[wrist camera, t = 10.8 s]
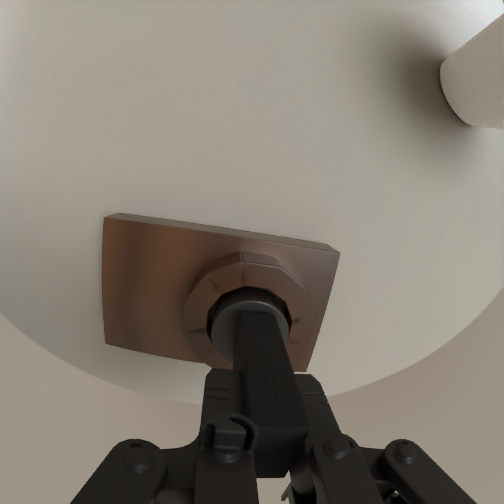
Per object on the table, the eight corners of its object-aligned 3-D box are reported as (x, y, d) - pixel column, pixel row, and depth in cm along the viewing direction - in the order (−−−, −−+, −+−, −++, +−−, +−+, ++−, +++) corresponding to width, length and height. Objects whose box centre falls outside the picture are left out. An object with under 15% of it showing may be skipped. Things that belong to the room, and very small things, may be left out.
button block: (116, 327, 17) (94, 359, 13) (118, 212, 15) (88, 221, 11) (299, 354, 18) (313, 390, 14) (327, 244, 17) (354, 261, 13)
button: (209, 343, 14) (207, 361, 12) (217, 281, 13) (215, 295, 12) (275, 350, 15) (280, 369, 13) (289, 291, 14) (296, 305, 12)
